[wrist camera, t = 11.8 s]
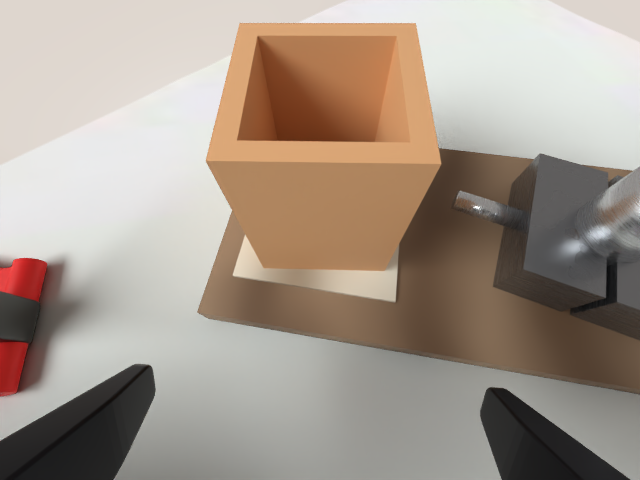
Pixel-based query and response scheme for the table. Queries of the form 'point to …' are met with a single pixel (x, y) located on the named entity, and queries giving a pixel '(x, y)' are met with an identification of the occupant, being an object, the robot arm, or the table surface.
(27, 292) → the tow hook
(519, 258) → the vise
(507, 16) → the table surface
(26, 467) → the robot arm
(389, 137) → the tan cardboard box
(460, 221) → the board
